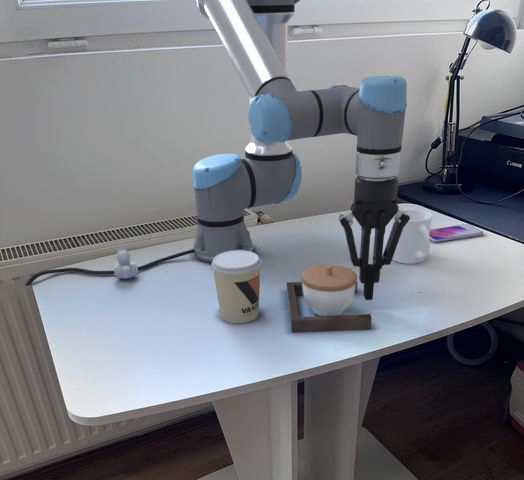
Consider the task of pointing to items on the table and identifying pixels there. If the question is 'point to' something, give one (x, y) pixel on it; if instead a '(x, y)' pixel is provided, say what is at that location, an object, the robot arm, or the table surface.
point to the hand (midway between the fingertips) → (367, 296)
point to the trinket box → (328, 288)
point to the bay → (322, 321)
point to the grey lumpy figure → (124, 265)
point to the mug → (414, 238)
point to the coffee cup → (237, 285)
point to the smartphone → (454, 232)
